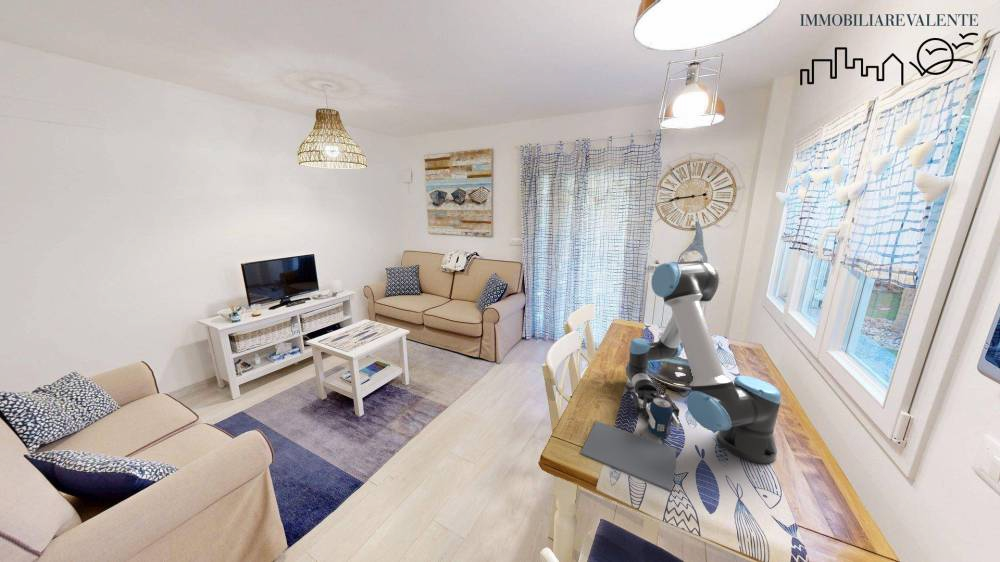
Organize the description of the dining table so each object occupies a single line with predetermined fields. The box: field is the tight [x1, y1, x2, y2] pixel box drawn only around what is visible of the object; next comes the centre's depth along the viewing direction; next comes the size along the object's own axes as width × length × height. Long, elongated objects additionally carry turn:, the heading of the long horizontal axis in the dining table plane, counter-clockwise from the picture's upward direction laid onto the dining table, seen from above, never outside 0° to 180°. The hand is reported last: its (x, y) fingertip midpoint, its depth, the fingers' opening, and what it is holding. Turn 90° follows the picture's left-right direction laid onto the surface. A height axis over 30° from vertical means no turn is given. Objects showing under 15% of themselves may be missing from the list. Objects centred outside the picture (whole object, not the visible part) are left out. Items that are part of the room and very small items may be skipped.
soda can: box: [647, 397, 673, 439], centre depth 108 cm, size 7×7×12 cm
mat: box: [580, 420, 678, 492], centre depth 101 cm, size 26×18×1 cm
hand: (665, 425), depth 103 cm, fingers closed on soda can, 7 cm apart
